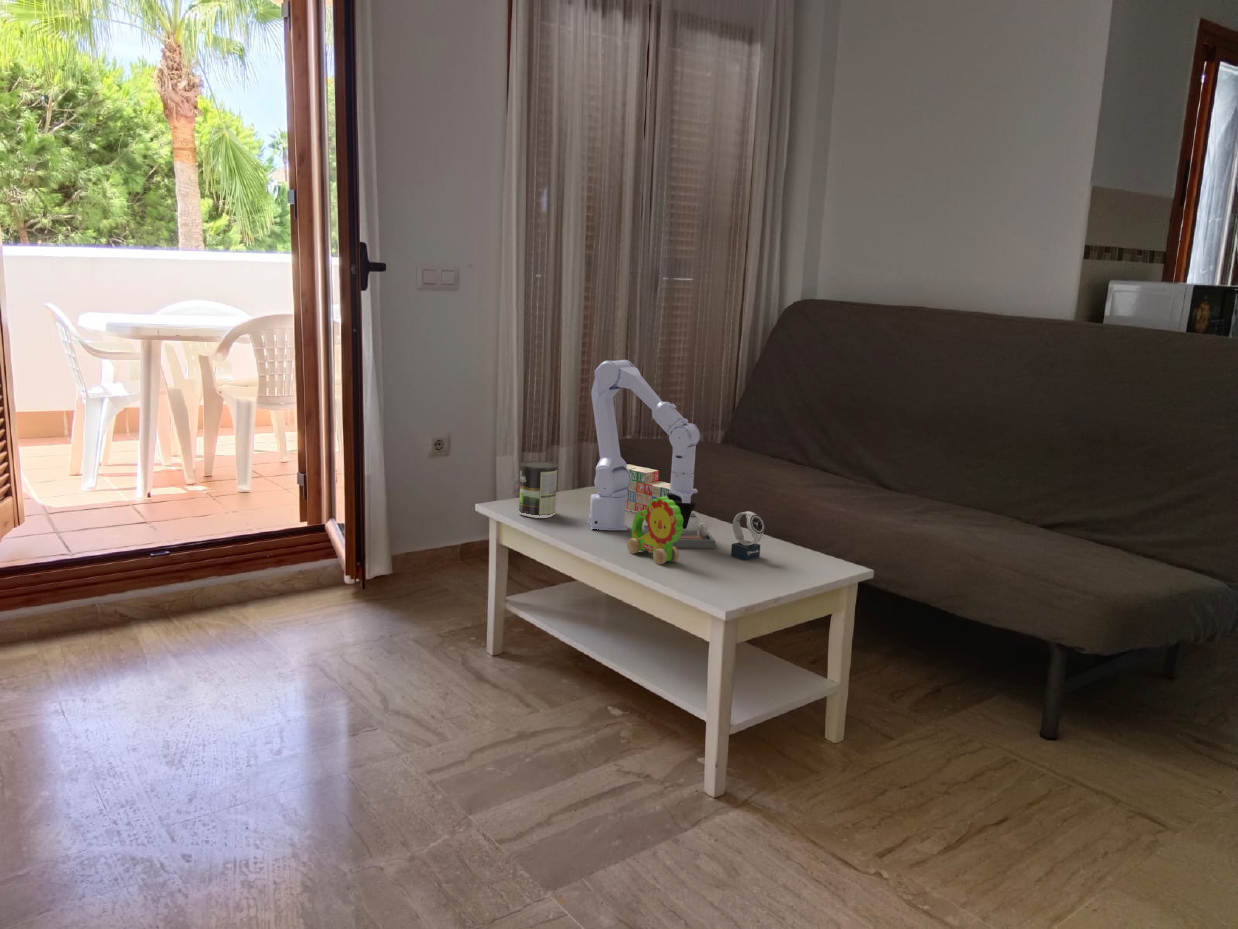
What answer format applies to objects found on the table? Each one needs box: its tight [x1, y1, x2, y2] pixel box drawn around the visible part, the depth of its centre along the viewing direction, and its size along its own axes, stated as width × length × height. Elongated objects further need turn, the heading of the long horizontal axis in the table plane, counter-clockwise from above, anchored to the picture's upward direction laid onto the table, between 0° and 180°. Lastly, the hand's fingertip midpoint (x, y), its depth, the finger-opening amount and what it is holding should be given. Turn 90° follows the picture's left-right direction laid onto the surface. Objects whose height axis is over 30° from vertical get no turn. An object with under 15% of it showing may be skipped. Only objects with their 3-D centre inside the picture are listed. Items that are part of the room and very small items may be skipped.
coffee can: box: [518, 460, 559, 516], centre depth 252 cm, size 10×10×14 cm
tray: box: [642, 522, 716, 549], centre depth 233 cm, size 16×14×4 cm
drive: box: [679, 513, 700, 537], centre depth 233 cm, size 9×4×5 cm, turn 97°
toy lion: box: [626, 497, 683, 566], centre depth 214 cm, size 16×5×15 cm, turn 38°
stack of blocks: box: [625, 464, 671, 512], centre depth 261 cm, size 21×6×12 cm, turn 46°
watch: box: [730, 510, 766, 561], centre depth 220 cm, size 6×8×11 cm
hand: (679, 524), depth 233 cm, fingers open, 7 cm apart
